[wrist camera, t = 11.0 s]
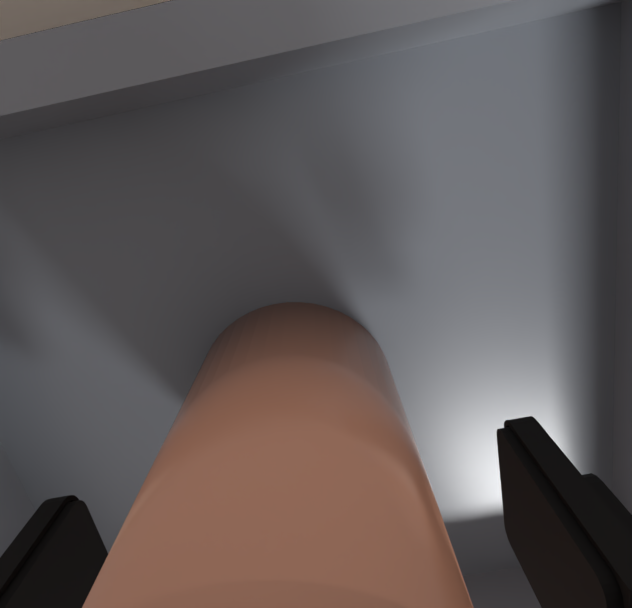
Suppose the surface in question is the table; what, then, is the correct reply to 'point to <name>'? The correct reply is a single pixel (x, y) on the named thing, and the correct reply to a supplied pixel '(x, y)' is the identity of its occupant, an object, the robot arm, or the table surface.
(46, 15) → the table surface
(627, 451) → the tray
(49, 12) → the table surface
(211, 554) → the cup
